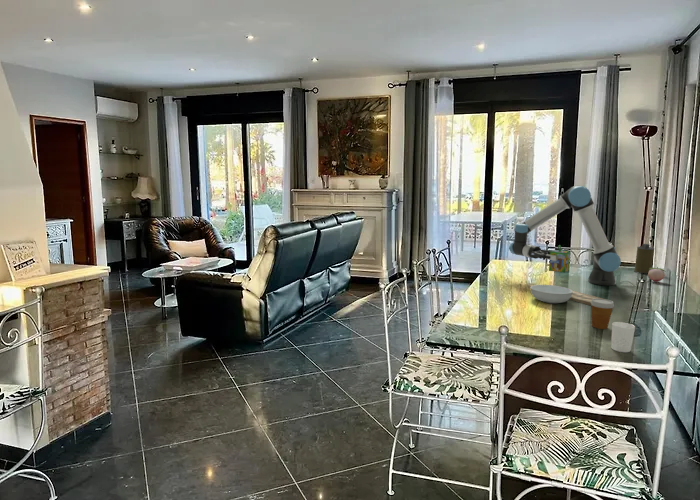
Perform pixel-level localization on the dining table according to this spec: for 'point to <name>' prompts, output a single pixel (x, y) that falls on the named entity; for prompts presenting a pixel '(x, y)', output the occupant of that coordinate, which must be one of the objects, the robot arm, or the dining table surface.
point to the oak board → (583, 297)
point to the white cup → (622, 336)
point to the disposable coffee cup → (601, 312)
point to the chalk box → (560, 260)
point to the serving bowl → (551, 293)
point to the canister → (644, 259)
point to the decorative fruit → (656, 274)
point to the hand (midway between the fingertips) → (562, 257)
